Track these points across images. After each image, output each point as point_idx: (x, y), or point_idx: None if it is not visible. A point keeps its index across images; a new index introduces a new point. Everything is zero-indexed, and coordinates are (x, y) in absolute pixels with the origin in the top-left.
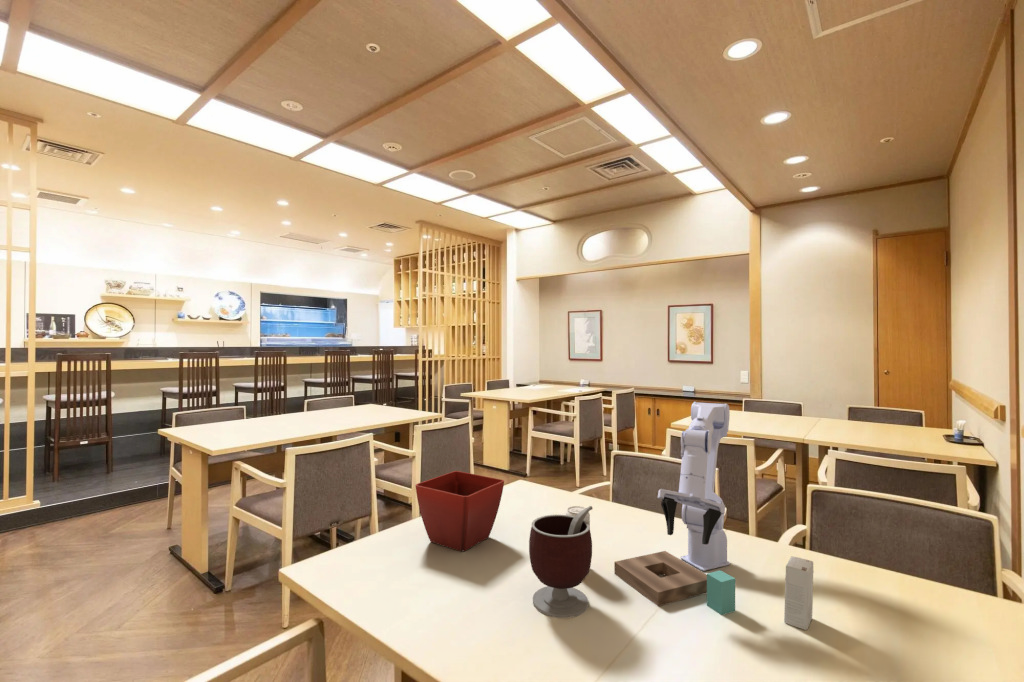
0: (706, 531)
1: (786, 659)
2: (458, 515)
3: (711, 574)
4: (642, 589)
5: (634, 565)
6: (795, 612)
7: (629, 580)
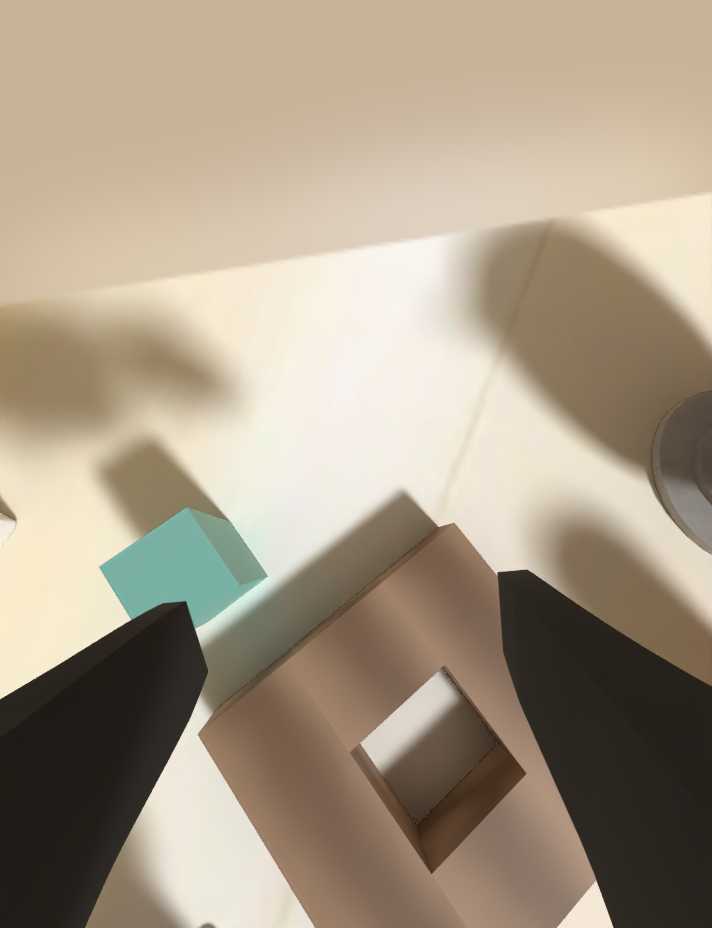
0: (104, 701)
1: (110, 335)
2: None
3: (216, 581)
4: None
5: None
6: None
7: None
